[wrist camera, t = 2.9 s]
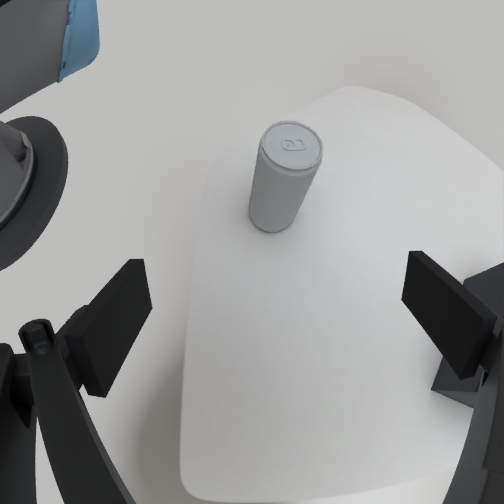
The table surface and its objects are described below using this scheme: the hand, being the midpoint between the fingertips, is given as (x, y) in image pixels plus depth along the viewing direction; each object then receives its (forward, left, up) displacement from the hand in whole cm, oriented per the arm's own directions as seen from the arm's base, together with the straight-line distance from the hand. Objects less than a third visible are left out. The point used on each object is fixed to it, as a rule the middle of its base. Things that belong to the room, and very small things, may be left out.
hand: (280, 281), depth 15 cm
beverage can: (-3, +11, -16) cm, 19 cm away
